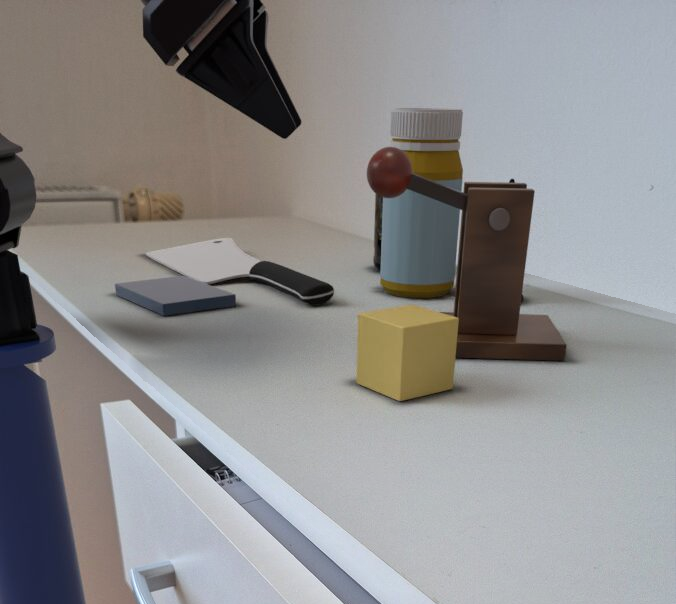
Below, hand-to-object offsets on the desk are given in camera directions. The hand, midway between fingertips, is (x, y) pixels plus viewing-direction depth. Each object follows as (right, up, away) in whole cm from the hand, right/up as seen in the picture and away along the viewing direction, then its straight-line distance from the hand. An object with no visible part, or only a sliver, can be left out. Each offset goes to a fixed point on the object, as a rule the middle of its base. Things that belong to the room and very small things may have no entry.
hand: (294, 130), depth 58 cm
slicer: (+14, -13, +5) cm, 20 cm away
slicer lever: (+10, -6, +1) cm, 11 cm away
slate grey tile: (-12, -6, +16) cm, 21 cm away
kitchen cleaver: (-7, 0, +26) cm, 27 cm away
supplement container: (+10, +2, +30) cm, 32 cm away
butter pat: (+7, -19, -4) cm, 21 cm away
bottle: (+11, -4, +21) cm, 24 cm away
